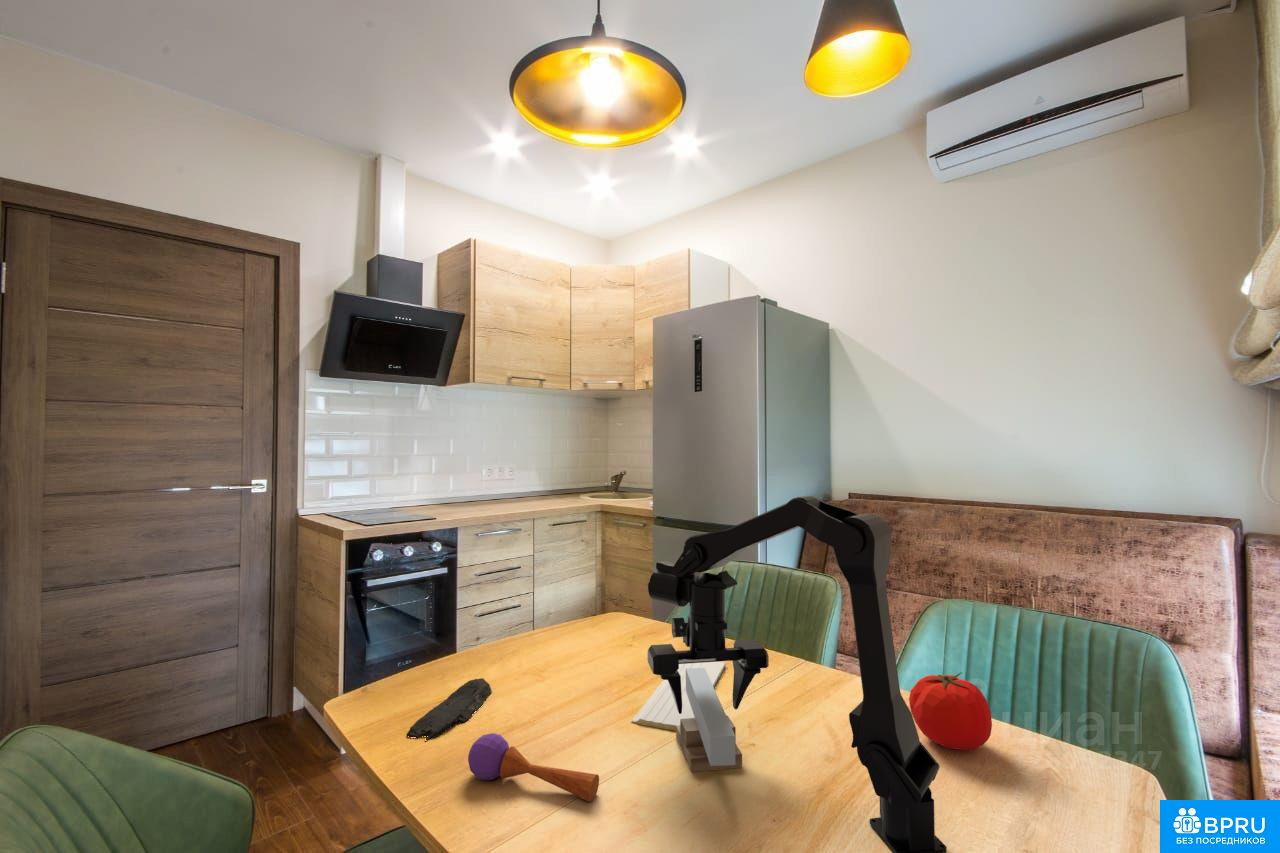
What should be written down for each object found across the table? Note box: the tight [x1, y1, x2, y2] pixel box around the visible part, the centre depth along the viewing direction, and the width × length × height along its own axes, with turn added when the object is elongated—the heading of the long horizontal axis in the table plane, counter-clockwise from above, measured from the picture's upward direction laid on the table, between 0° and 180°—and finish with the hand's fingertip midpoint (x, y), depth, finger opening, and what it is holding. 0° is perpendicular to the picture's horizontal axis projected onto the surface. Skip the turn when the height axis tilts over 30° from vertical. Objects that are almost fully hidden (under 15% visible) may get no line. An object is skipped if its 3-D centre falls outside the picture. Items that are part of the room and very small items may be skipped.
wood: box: [406, 677, 493, 741], centre depth 103 cm, size 22×7×3 cm, turn 166°
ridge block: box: [675, 714, 743, 773], centre depth 89 cm, size 10×8×4 cm
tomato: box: [908, 671, 993, 751], centre depth 92 cm, size 12×12×11 cm
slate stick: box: [686, 668, 735, 766], centre depth 89 cm, size 24×4×4 cm, turn 3°
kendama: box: [467, 732, 600, 803], centre depth 80 cm, size 6×6×20 cm
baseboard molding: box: [631, 661, 727, 732], centre depth 112 cm, size 31×3×12 cm
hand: (707, 710), depth 89 cm, fingers open, 9 cm apart
